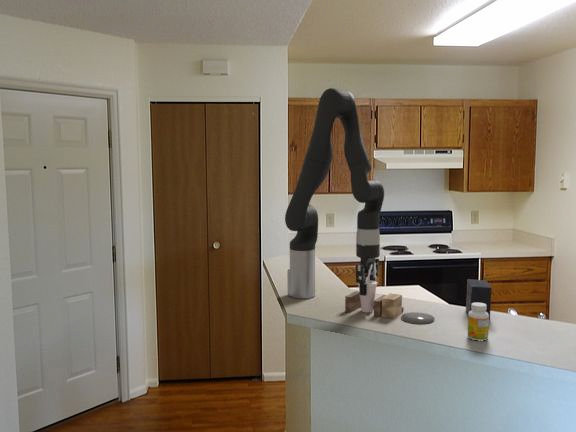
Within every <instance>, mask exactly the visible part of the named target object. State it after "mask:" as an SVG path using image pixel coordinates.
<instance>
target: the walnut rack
mask: <svg viewBox="0 0 576 432" xmlns="http://www.w3.org/2000/svg"><path fill="white" fill-rule="evenodd" d="M344 298H345V300H344V304H345V305H344V307H345V309H344V311H345V312H348V313H352V312H354V311H355V310H357V309H358V308H361V302H360V293H359V290H354V291H353V292H351V293H350V294H346V295H345V296H344ZM404 310H405V308H404V306H403V295H402V294H398V293H388V294H387V295H386V294H382V295H381V296H379V297H377V298H376V299H374V307H373V317H377V318H379V317H382V318H386V319H387V318H389V319H396V318H397V317H398V316H400V315H402V313H404Z"/></svg>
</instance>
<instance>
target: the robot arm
mask: <svg viewBox="0 0 576 432" xmlns="http://www.w3.org/2000/svg"><path fill="white" fill-rule="evenodd" d="M318 100H319V101H318V106H317V111H316V115H315V121H314V126H313V129H312V132H311V137H310V140H309V143H308V148H307V149H306V153H305V156H304V161H303V163H302V166H301V171H300V174H299V176H298V179H297V183H296V185H295V189H294V192H293V194H292V196H291V199H290V201H289V203H288V205H287V208H286V211H285V215H284V223H285V225H286V228H287V229H288V230H289V231H290V232H296V234H295V236H294V237H293V238H292V239H291V240H290V241H289V269H288V270H287V273H286V274H287V296H289V297H291V298H295V299H311V298H314V297H315V296H316V244H317V241H318V236H319V235H318V234H319V214H318V211H317V209H316V208H315V206H314V205H312V204H310V202H311V200H312V198H313V195H314V194H315V193H316V192H317V191H318V189H319V188H320V187H321V185H322V184H323V183H324V181H325V180H326V179H327V177H328V174H329V171H330V169H331V165H332V161H333V157H334V151H333V144H332V137H331V136H332V131H333V126H334V124H335V120H336V119H339V121H340V123H341V125H342V128H343V132H344V143H343V144H344V145H343V153H344V154H343V155H344V157H345V160H346V161H345V162H346V163H347V167H348V169H349V172H350V184H351V186H350V187H351V193H352V196H353V197H354V199H355V201H357V202H358V203H361V204H364V207H363V209H361V210H359V211H358V213H357V219H356V220H357V221H356V229H357V230H356V235H355V236H356V239H355V241H356V243H355V244H356V245H355V247H356V248H355V251H356V252H355V253H356V254H355V255H356V257H357V258H360V260H359V264H355V283H357V284H358V283H359V284H360V295H363V296H365V295H367V280H368V278H369V280H373V281H376V280H377V277H378V278H379V273H380V271H379V269H380V258H379V257H380V253H381V252H380V251H381V249H380V248H381V237H380V236H381V235H380V213H381V211H382V206H383V204H384V200H385V199H384V198H385V189H384V185H383V184H382V183H381V182H380V181H379V180H374V179H373V180H372V179H371V180H370V179H369V180H368V177H367V176H368V174H369V173H371V170H372V164H371V162H370V161H371V160H370V159H369V156H368V152H367V150H366V147H365V143H364V140H363V136H362V132H361V131H362V130H361V127H360V119H359V116H358V108H357V104H356V100H355V97H354V95H353V93H352V92H350V91H348V90H346V89H345V90H344V89H339V88H333V87H330V88H327V89H325V90H324V91H323V92H322V94H321V96H320V98H319V99H318Z"/></svg>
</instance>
